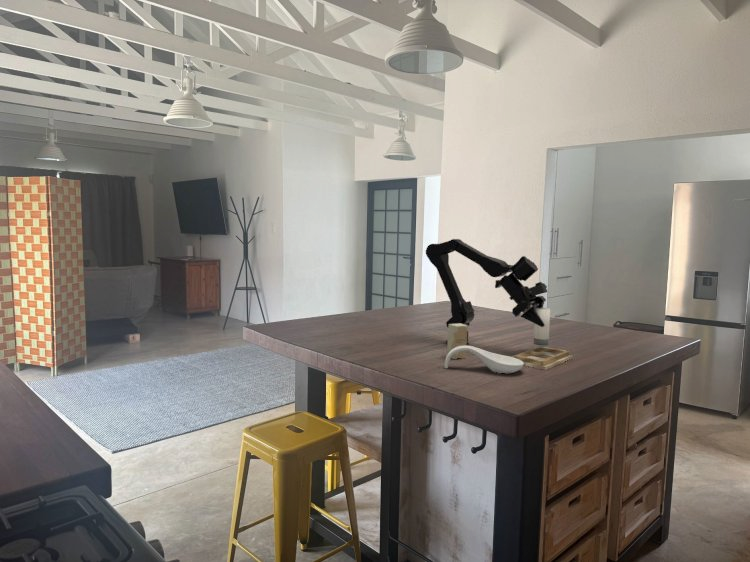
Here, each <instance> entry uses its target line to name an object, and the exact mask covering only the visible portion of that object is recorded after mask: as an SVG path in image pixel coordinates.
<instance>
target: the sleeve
mask: <svg viewBox="0 0 750 562" xmlns="http://www.w3.org/2000/svg"><path fill="white" fill-rule="evenodd" d="M536 312H537V313H538V315H539V316H540V318H541V320H542V321H543V323H544V324H545V326H543V327H541V326H539V325H537V324H535V323H534V326H533V327H534V328H533V330H534V331H533V345H536V346H548V345H549V340H550V322H551V320H550V319H551V308H547V307H543V308H536Z"/></svg>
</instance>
